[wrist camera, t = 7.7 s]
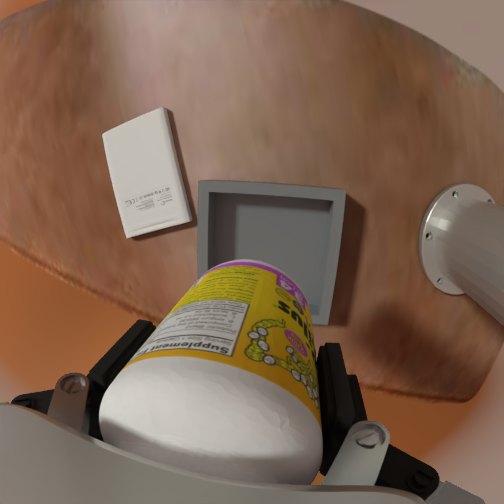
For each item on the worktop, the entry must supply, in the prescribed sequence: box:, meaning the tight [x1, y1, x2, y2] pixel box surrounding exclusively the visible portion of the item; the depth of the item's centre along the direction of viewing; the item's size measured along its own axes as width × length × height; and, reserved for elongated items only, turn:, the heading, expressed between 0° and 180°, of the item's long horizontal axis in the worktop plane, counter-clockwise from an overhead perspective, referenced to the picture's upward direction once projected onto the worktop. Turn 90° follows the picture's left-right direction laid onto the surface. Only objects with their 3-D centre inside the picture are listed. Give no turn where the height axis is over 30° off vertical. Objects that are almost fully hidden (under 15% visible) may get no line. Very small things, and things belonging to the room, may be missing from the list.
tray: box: [197, 180, 346, 325], centre depth 27 cm, size 13×13×3 cm
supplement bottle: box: [99, 259, 323, 485], centre depth 9 cm, size 7×7×13 cm
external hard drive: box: [102, 107, 193, 238], centre depth 28 cm, size 2×8×12 cm
